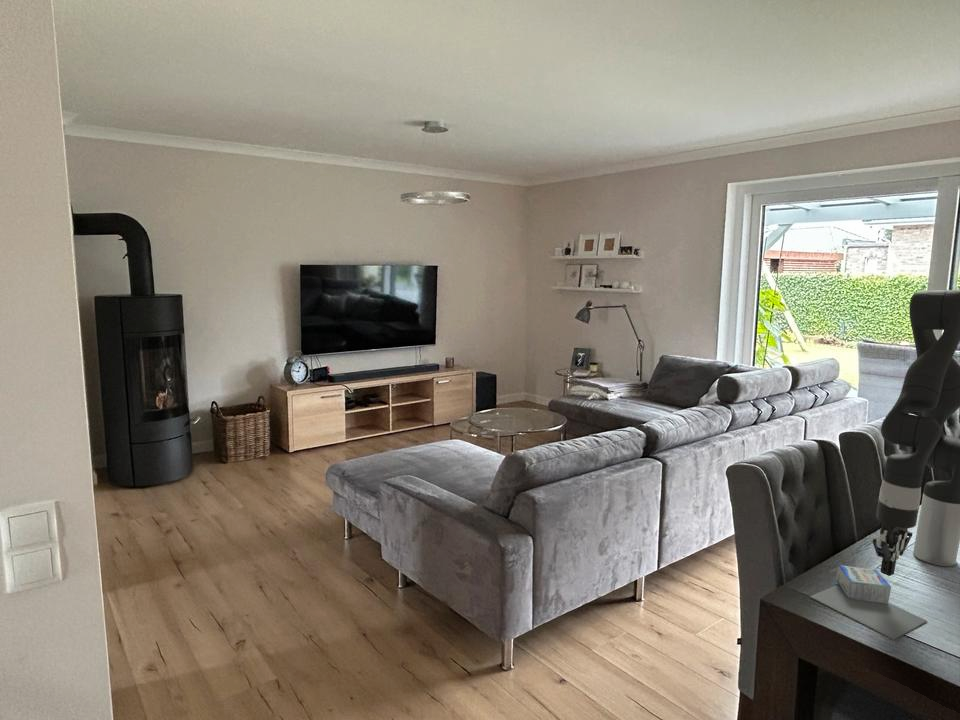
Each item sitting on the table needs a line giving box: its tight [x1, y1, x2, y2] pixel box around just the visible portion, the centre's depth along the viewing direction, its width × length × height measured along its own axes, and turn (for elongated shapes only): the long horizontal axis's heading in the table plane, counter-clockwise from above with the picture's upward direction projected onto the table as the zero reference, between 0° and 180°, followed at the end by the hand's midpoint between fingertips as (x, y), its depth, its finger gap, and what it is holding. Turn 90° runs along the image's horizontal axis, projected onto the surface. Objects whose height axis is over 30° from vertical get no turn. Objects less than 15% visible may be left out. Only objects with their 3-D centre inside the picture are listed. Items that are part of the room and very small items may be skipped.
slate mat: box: [809, 583, 928, 641], centre depth 139 cm, size 14×18×1 cm
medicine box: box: [835, 564, 892, 604], centre depth 145 cm, size 8×4×9 cm
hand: (886, 573), depth 141 cm, fingers closed
